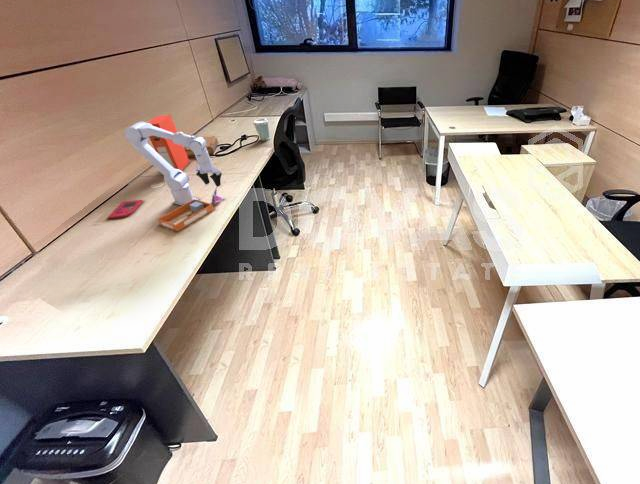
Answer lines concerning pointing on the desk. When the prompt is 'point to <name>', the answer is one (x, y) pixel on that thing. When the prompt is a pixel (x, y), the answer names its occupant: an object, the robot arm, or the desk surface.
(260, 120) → the disposable coffee cup
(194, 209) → the small cube
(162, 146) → the file binder
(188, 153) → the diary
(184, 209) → the wooden tray
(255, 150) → the desk surface
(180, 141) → the robot arm
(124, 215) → the handheld gaming console
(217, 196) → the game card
